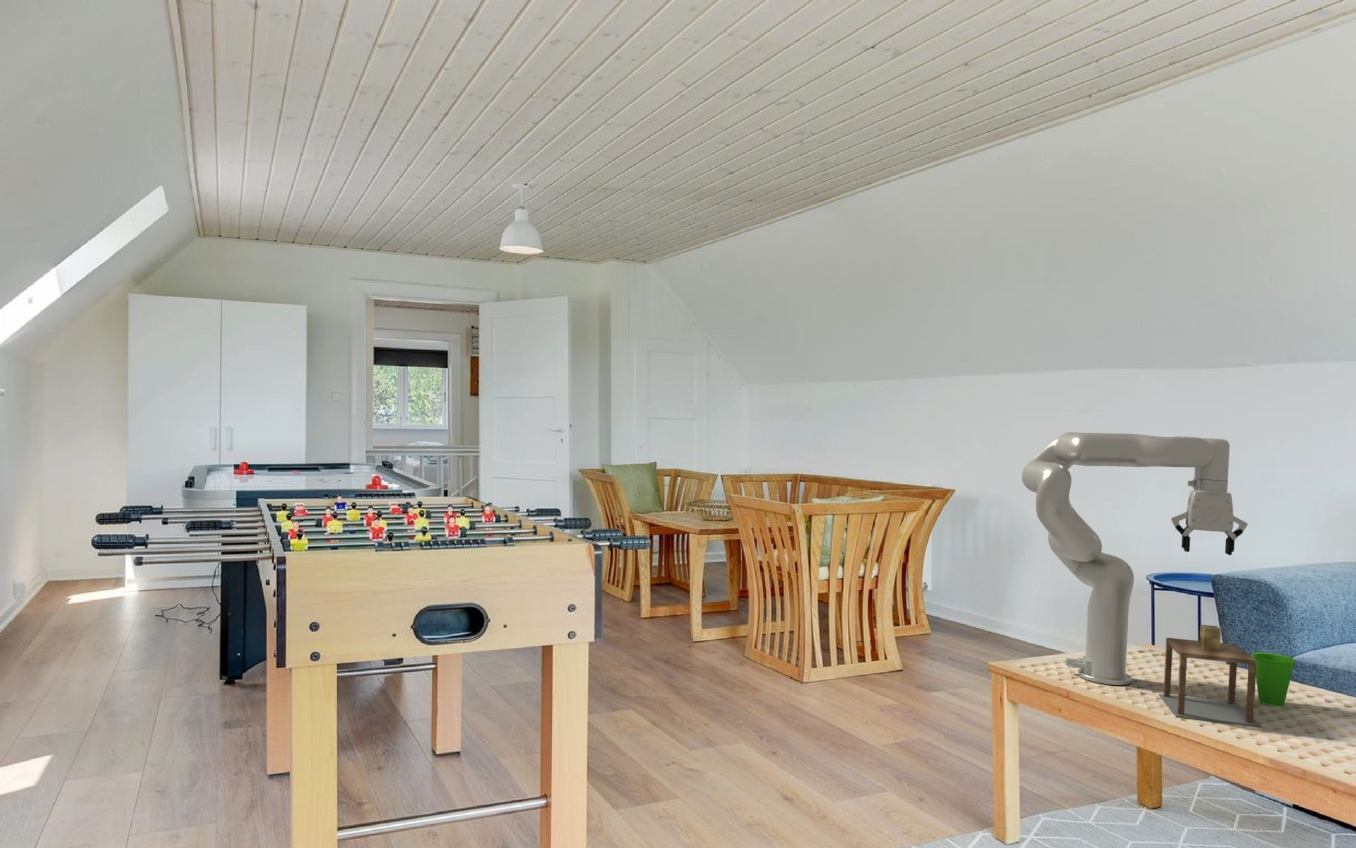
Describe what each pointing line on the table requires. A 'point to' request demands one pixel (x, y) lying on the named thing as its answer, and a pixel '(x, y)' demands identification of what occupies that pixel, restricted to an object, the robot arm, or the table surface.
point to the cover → (1210, 650)
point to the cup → (1273, 677)
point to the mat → (1209, 710)
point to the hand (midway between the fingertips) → (1207, 552)
